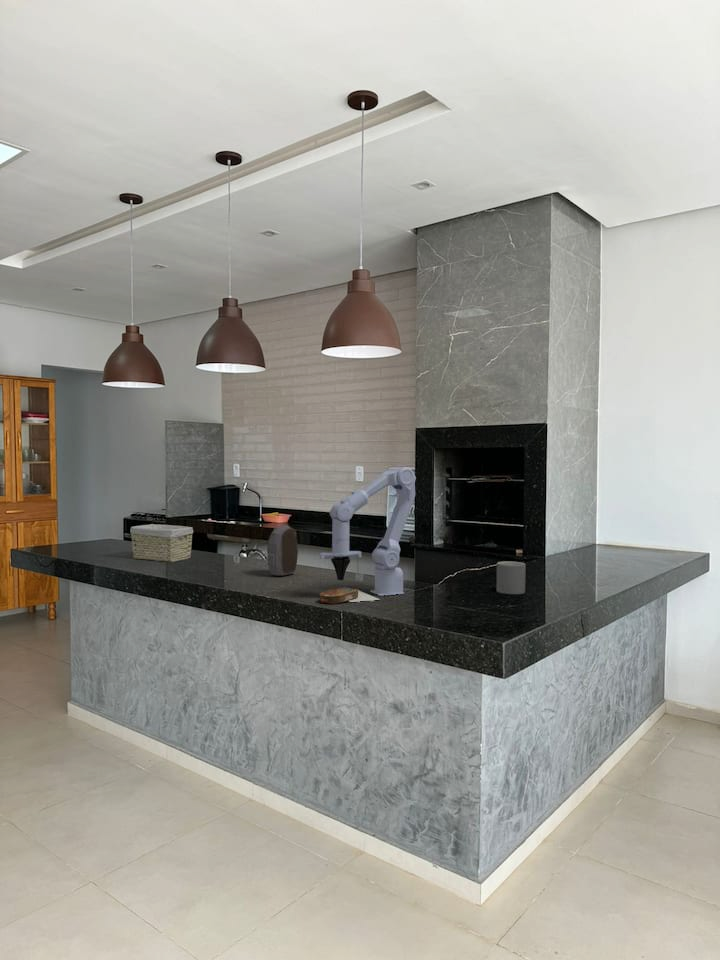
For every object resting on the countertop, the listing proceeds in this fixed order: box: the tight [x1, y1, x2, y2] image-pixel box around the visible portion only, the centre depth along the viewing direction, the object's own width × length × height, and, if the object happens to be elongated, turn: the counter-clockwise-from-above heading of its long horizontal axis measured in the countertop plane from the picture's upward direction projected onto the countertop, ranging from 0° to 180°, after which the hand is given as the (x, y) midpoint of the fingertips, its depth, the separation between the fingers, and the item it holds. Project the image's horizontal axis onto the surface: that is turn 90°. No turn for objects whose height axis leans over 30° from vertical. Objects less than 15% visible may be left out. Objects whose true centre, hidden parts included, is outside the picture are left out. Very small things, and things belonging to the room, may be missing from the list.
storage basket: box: [129, 523, 194, 563], centre depth 318 cm, size 24×16×15 cm
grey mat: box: [348, 589, 381, 603], centre depth 238 cm, size 10×20×1 cm, turn 25°
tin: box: [319, 586, 359, 605], centre depth 231 cm, size 15×3×8 cm
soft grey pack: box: [266, 524, 299, 577], centre depth 279 cm, size 15×8×20 cm, turn 150°
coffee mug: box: [495, 560, 526, 595], centre depth 252 cm, size 13×10×10 cm
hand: (340, 579), depth 236 cm, fingers closed
